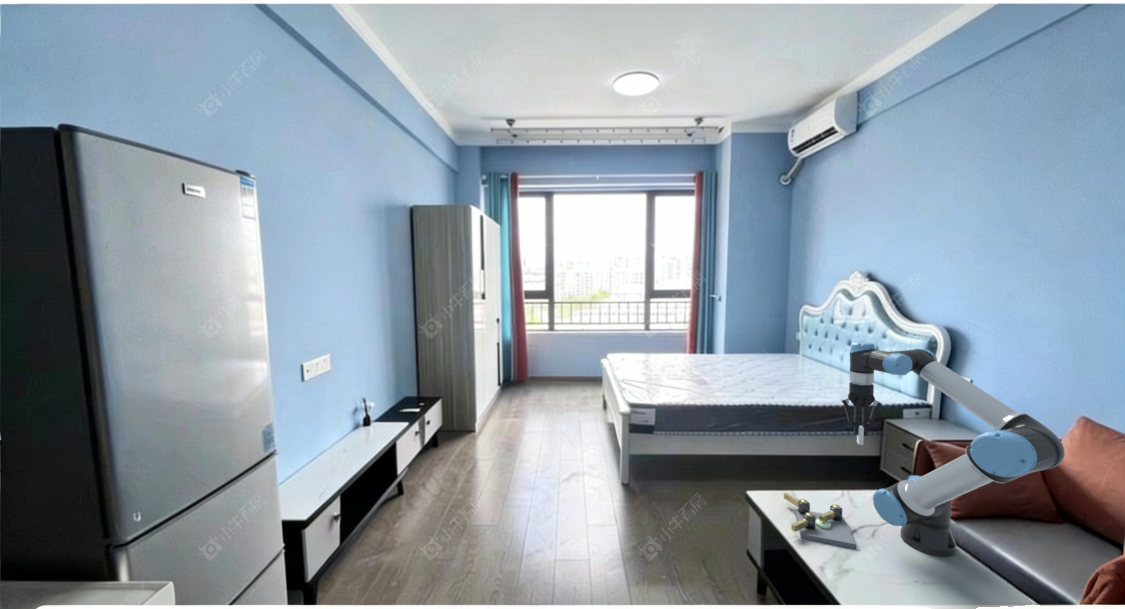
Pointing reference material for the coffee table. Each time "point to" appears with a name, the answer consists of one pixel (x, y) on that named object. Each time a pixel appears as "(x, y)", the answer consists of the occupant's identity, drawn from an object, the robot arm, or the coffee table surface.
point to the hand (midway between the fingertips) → (860, 443)
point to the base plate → (827, 531)
